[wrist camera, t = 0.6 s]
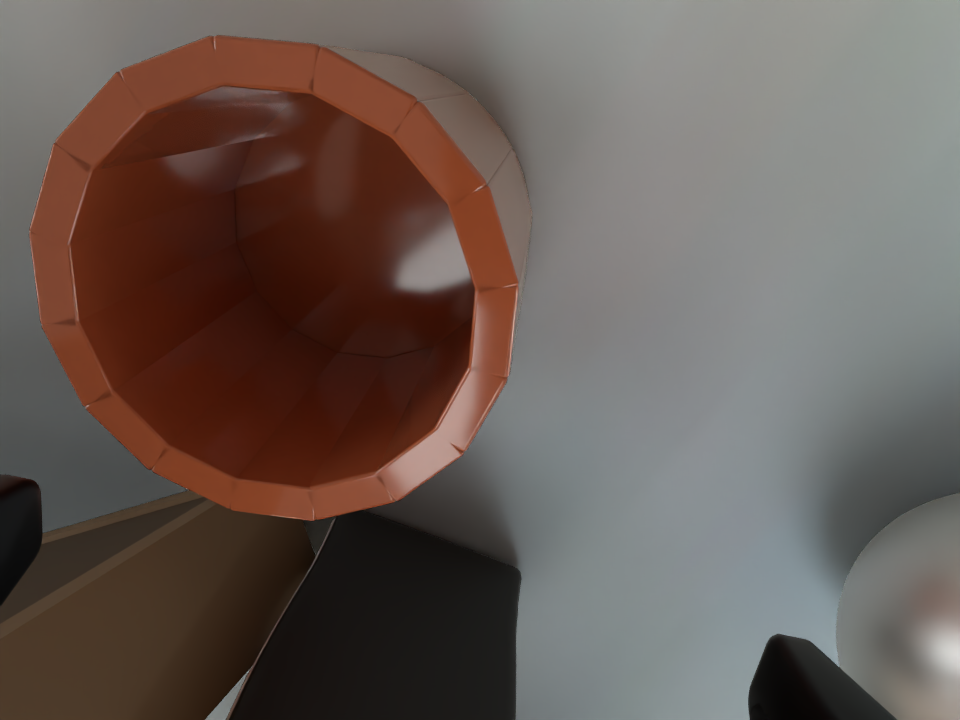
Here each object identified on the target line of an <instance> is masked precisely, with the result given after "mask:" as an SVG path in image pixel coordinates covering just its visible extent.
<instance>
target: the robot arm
mask: <svg viewBox="0 0 960 720" xmlns="http://www.w3.org/2000/svg"><path fill="white" fill-rule="evenodd" d="M42 537H43V533H42V508H41V491H40V487H39V485H38V484H37V483H36V482H35V481H34V480H31V479H26V478H21V477H17V476H12V475H6V474H0V607H1V605H2V604H3V603H4V601H5V600H6V599H7V597H8V596H9V594H10V593H11V592H12V590H13V589H14V587H15V586H16V585H17V583H18V582H19V580H20V579H21V578H22V576H23V575H24V573H25V572H26V571H27V569H28V568H29V567H30V565H31V564H32V562H33V561H34V560H35V558H36V556H37V554H38V552H39V550H40V547H41V544H42ZM748 708H749V716H750V720H897V719H896V718H895V717H894V716H893V715H892V714H891V713H890V712H888V711H887V710H886V709H885V708H884V707H883V706H882V705H881V704H880V703H878V702H877V701H876V700H875V699H874V698H873V697H872V696H871V695H870V694H868V693H867V692H866V691H865V690H864V689H863V688H862V687H861V686H860V685H858V684H857V683H856V682H855V681H854V680H853V679H852V678H851V677H850V676H848V675H847V674H846V673H845V672H844V671H843V670H842V669H841V668H840V667H838V666H837V665H836V664H835V663H834V662H833V661H832V660H831V659H830V658H828V657H827V656H826V655H825V654H824V653H823V652H822V651H821V650H820V649H818V648H817V647H816V646H815V645H814V644H813V643H811V642H810V641H808V640H806V639H801V638H797V637H792V636H787V635H782V634H776V635H773V636H772V637H771V638H770V639H769V640H768V642H767V644H766V647H765V649H764V652H763V654H762V657H761V660H760V662H759V665H758V667H757V670H756V672H755V675H754V678H753V680H752V683H751V686H750V690H749V697H748Z"/></svg>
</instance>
